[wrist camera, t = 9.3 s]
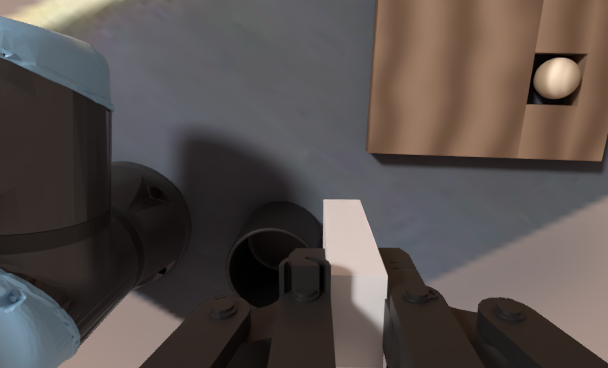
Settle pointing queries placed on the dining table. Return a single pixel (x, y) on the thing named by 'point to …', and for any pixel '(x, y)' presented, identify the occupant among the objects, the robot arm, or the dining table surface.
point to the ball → (557, 78)
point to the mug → (268, 250)
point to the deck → (486, 78)
